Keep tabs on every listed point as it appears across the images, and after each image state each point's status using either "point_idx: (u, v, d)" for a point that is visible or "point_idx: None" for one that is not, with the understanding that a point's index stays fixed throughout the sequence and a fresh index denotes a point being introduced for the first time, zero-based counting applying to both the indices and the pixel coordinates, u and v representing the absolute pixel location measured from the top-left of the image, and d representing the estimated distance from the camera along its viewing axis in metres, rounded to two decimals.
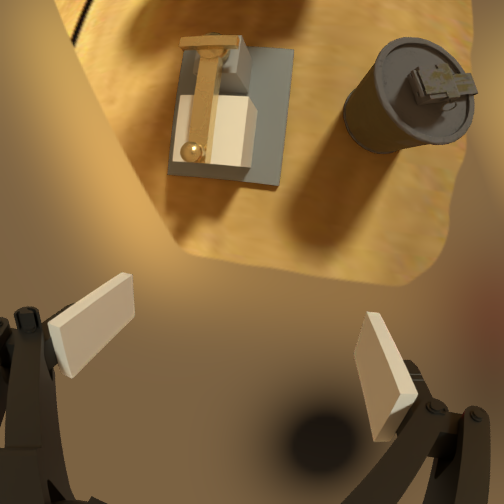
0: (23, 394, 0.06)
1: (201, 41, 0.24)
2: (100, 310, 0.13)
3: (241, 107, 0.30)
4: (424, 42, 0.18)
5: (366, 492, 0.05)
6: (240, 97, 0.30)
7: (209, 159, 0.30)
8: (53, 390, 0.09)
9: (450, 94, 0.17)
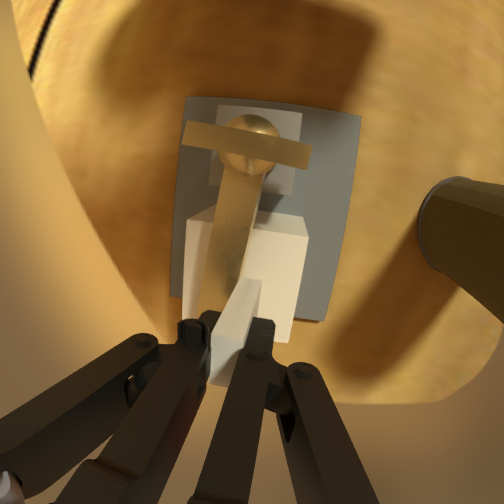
0: (150, 413, 0.07)
1: (231, 142, 0.13)
2: None
3: (295, 255, 0.19)
4: None
5: (222, 446, 0.06)
6: (294, 237, 0.19)
7: None
8: (194, 410, 0.10)
9: None
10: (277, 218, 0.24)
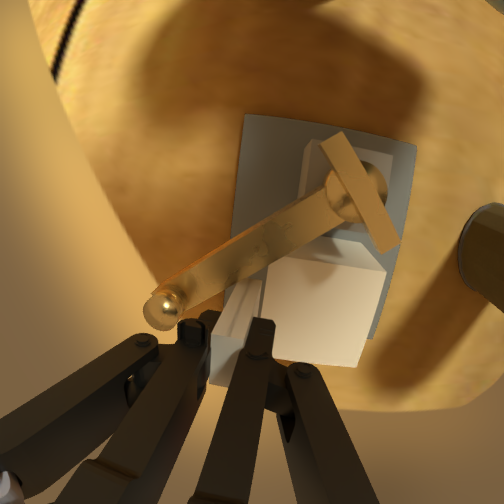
0: (150, 413, 0.07)
1: (356, 183, 0.13)
2: None
3: (373, 289, 0.19)
4: None
5: (222, 446, 0.06)
6: (374, 272, 0.19)
7: None
8: (194, 410, 0.10)
9: None
10: (343, 247, 0.24)
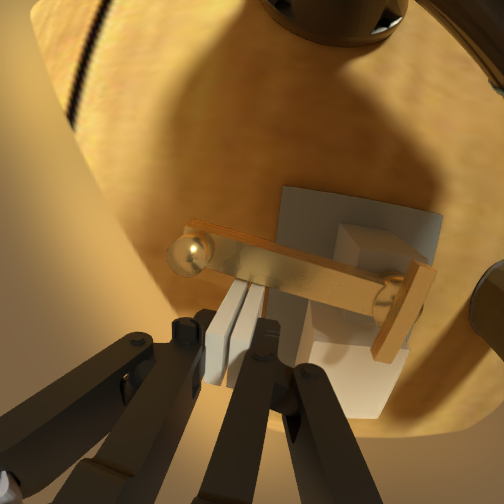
0: (146, 412, 0.07)
1: (409, 308, 0.14)
2: (237, 315, 0.14)
3: (397, 362, 0.20)
4: None
5: (227, 447, 0.06)
6: (400, 350, 0.20)
7: None
8: (189, 409, 0.10)
9: None
10: None
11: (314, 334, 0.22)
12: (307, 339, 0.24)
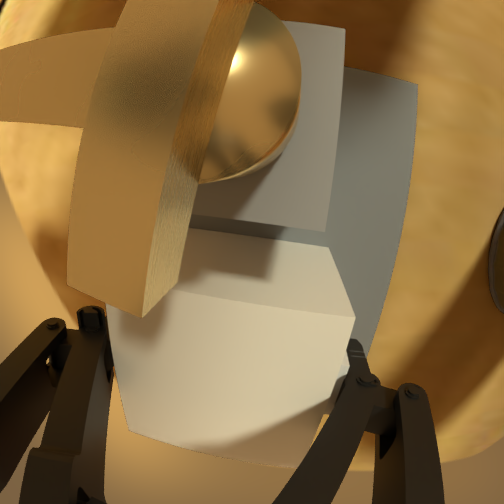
0: (72, 396, 0.07)
1: (158, 4, 0.02)
2: None
3: (324, 352, 0.09)
4: None
5: (311, 468, 0.06)
6: (324, 318, 0.08)
7: None
8: (108, 392, 0.10)
9: None
10: (286, 256, 0.13)
11: None
12: None
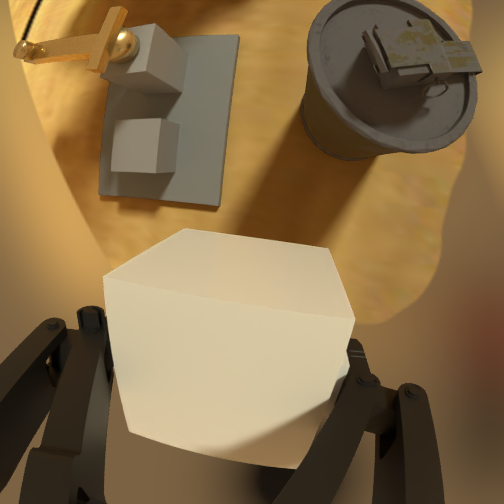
0: (72, 396, 0.07)
1: (104, 30, 0.16)
2: None
3: (323, 354, 0.09)
4: None
5: (311, 468, 0.06)
6: (324, 320, 0.08)
7: (35, 63, 0.20)
8: (108, 392, 0.10)
9: (435, 68, 0.09)
10: (286, 257, 0.13)
11: (119, 267, 0.10)
12: None
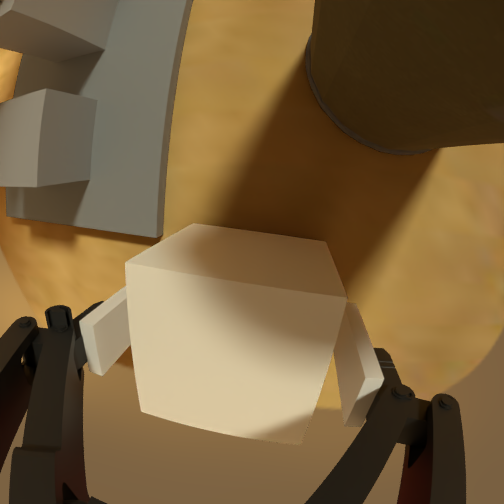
0: (47, 394, 0.07)
1: None
2: None
3: (320, 329, 0.10)
4: None
5: (339, 479, 0.05)
6: (320, 298, 0.10)
7: None
8: (80, 390, 0.09)
9: None
10: (287, 248, 0.15)
11: (139, 255, 0.11)
12: None
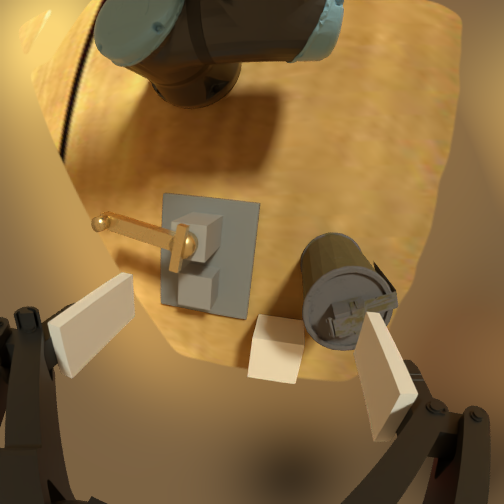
0: (23, 394, 0.06)
1: (177, 244, 0.35)
2: (100, 310, 0.13)
3: (298, 351, 0.44)
4: (355, 271, 0.30)
5: (366, 492, 0.05)
6: (298, 345, 0.43)
7: None
8: (53, 390, 0.09)
9: (358, 333, 0.29)
10: (291, 326, 0.48)
11: (254, 334, 0.45)
12: None
